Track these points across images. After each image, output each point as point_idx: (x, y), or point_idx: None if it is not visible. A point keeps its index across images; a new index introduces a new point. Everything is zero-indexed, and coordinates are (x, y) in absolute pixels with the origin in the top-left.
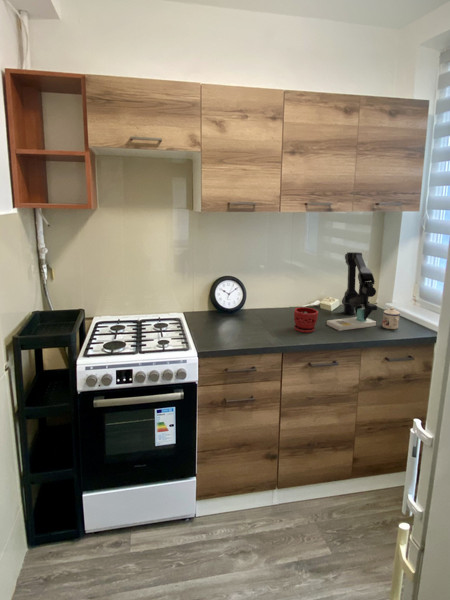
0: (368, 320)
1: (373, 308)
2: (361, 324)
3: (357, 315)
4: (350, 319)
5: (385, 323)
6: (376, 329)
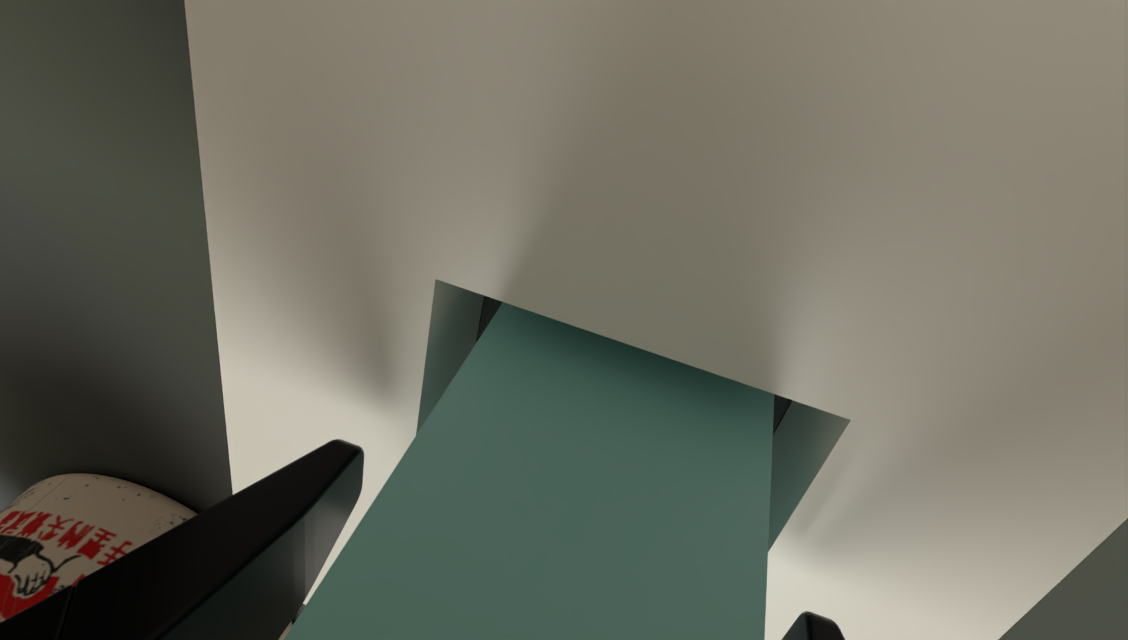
0: None
1: None
2: (221, 46)
3: (697, 593)
4: (1006, 224)
5: (25, 559)
6: (65, 259)
